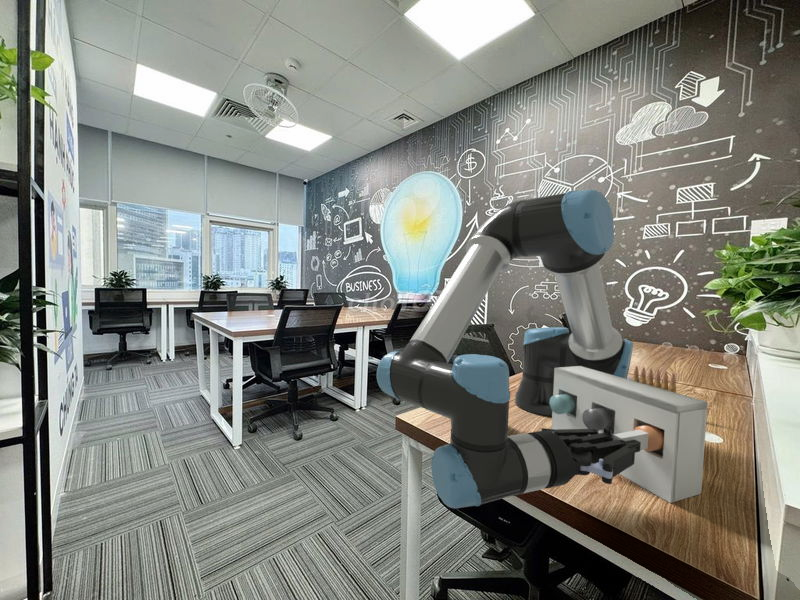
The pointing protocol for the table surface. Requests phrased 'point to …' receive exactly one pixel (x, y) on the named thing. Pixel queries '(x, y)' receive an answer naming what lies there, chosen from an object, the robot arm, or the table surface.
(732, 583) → the table surface
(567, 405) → the teal button
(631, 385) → the console
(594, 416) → the charcoal button
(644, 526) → the table surface
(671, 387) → the ammunition clip
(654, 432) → the terracotta button
